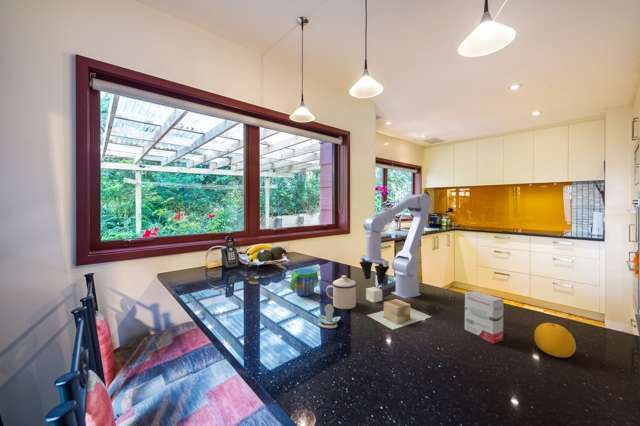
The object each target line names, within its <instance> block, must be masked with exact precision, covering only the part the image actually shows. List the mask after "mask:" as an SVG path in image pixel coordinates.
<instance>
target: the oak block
mask: <svg viewBox="0 0 640 426" xmlns="http://www.w3.org/2000/svg"><path fill="white" fill-rule="evenodd" d="M410 308H411V304H410V303H407V302H405V301H404V300H400V299H397V298H395V299H392V300H386V301H383V311H384V317H385V318H387V319H389V320H391V321H393V322H395V323H396V324H398V323H401V322H405V321H408V320H410Z"/></svg>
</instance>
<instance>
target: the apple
mask: <svg viewBox="0 0 640 426" xmlns="http://www.w3.org/2000/svg"><path fill="white" fill-rule="evenodd" d="M533 333H534V335H533V339H534V342H535V344H536V346H537V347H538V348H539V349H540V351H543V352H544V353H545V354H548V355H550V356H553V357H556V358H563V359H564V358H569V357H572V355H574V353H575V352H576V349H577V345H576V340H575V338H574V336H573V334H572V333H571V332H570V331H569V330H568V329H566V328H565V326H562V325H560V324H557V323H552V322H544V323H541V324H539V325H538V326H536V328H535V329H534V332H533Z"/></svg>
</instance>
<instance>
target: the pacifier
mask: <svg viewBox="0 0 640 426" xmlns="http://www.w3.org/2000/svg"><path fill="white" fill-rule="evenodd" d="M334 311H335V308H334V306H333V304H331V303H328V304H326V305H325V306H324V312H325V315H323V314H319V315H318V316H317V318H318V321H320V322H318V326H319V327H321V328H324V329H335V328H337V327H339V325H338V323H337V322H339V321H340V320H341V316H334V315H333V314H334ZM333 316H334V317H333Z"/></svg>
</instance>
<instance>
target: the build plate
mask: <svg viewBox="0 0 640 426" xmlns="http://www.w3.org/2000/svg"><path fill="white" fill-rule="evenodd" d="M366 316H367V317H369V318H371V319H373V320H375V321H376V322H379V323H380V324H382V325H384V326H385V327H387V328H389V329H390V330H396V329H399V328H402V327H405V326H408V325H411V324H414V323H417V322H419V321H423V320H426V319H430V318H432V315H429V314H426V313H424V312H422V311H419V310H417V309H414V308H412V307H410V320H408V321H405V322H401V323H398V324H396V323H395V322H393V321H391V320H389V319H387V318H385V317H384V310H381V311H378V312H374V313H370V314H366Z"/></svg>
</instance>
